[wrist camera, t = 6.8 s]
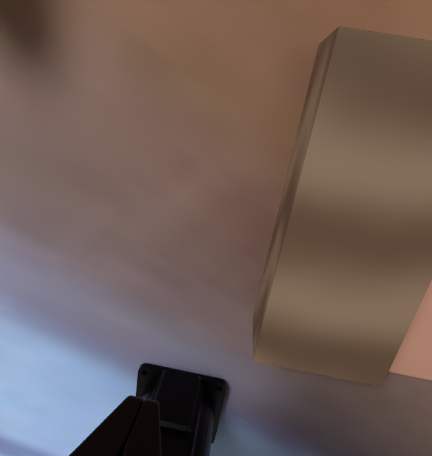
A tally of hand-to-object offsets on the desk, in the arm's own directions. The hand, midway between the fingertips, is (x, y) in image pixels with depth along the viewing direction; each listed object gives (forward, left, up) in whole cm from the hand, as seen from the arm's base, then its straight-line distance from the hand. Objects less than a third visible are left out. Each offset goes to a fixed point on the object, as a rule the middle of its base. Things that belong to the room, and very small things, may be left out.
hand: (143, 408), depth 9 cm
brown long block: (+3, -7, -12) cm, 14 cm away
